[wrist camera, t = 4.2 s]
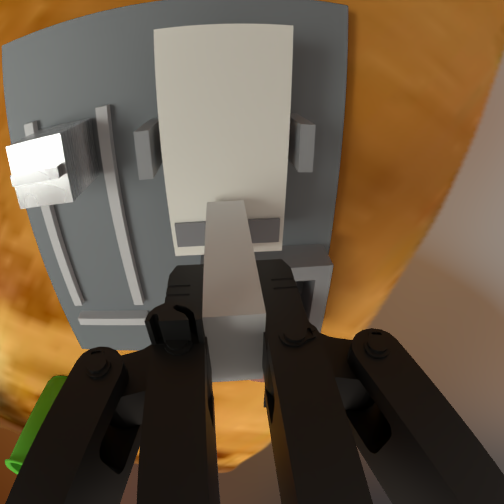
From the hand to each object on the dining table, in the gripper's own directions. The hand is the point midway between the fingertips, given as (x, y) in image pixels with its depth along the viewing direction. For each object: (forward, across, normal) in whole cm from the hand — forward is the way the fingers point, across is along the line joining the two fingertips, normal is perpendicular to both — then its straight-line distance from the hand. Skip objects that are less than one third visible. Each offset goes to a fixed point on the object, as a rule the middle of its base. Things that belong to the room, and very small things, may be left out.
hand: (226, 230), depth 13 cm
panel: (+5, -3, -1) cm, 5 cm away
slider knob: (+3, -8, +3) cm, 9 cm away
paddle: (+1, 0, +3) cm, 4 cm away
